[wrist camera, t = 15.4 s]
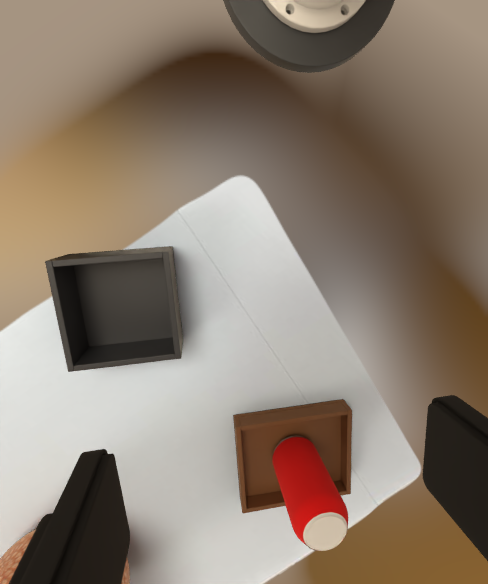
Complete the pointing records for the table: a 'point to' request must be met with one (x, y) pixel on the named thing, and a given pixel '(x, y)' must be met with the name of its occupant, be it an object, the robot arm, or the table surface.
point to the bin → (117, 307)
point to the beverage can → (309, 494)
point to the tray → (279, 425)
